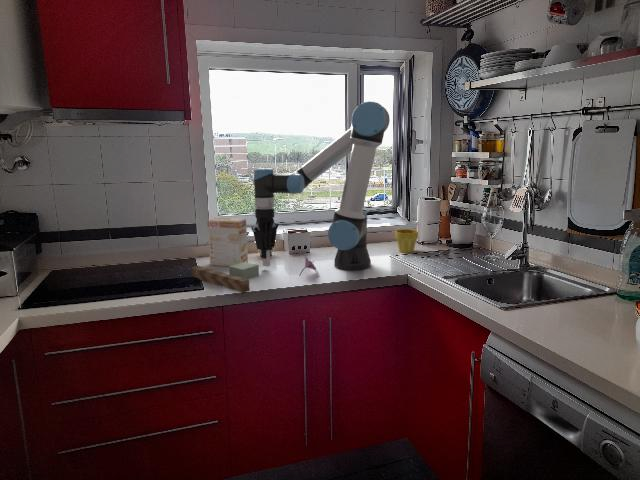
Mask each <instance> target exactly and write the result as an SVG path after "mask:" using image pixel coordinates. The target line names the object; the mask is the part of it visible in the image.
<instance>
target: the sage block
mask: <svg viewBox="0 0 640 480" xmlns="http://www.w3.org/2000/svg"><path fill="white" fill-rule="evenodd" d="M228 274H231V275H234V276H238V277H242V278H246V279H249V280H250V279H253V278H257V277H259V276H260V265H259V264H255V263H251V262H248V263H247V262H243V263H239V264H235V265H232V266H228Z"/></svg>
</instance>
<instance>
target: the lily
mask: <svg viewBox="0 0 640 480" xmlns="http://www.w3.org/2000/svg"><path fill="white" fill-rule="evenodd" d="M300 250H301V251H302V252H303V253H304V254H303V256H304V258H305V261H304V262H305V263H304V267H303V268H302V270H301V272H300V273H299V277H300V276H301V275H302V272H304V270H305V269H307V268H308V269H311V270H314V271H315V272H316V273H317V275H318V276H320V274H319V273H318V269H317V267H316V266H315V264H314V263H315V260H309V259H308V257H307V255H306V253H305V252H304V250H303V249H302V248H300Z"/></svg>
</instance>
